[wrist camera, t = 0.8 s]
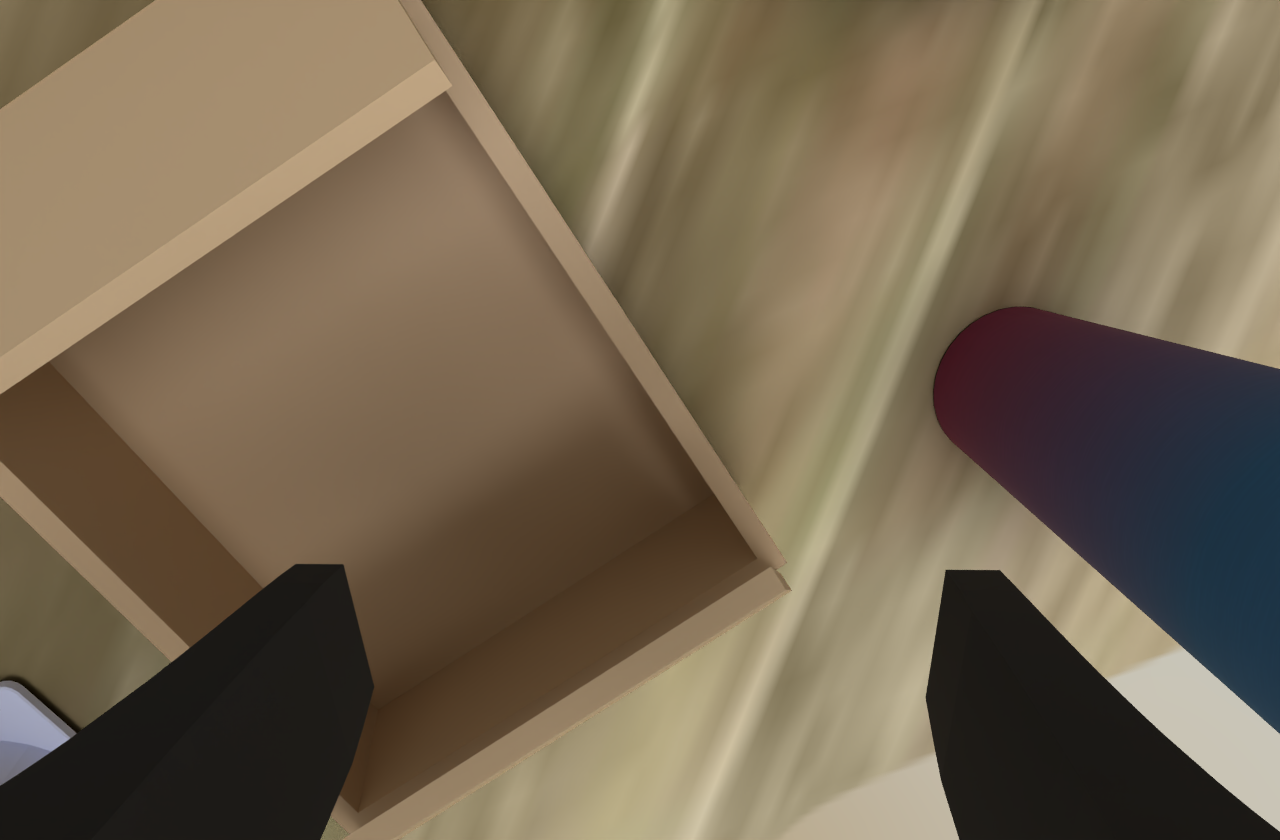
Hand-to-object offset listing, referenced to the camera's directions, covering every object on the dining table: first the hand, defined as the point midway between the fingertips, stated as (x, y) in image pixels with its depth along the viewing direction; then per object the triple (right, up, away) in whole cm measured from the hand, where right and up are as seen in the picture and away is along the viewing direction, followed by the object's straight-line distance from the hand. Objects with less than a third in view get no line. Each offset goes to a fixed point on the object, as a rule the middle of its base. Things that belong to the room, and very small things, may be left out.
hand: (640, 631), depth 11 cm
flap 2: (-3, -5, +10) cm, 11 cm away
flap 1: (-10, +6, +5) cm, 13 cm away
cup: (+12, +4, +18) cm, 22 cm away
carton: (-8, +4, +15) cm, 17 cm away
